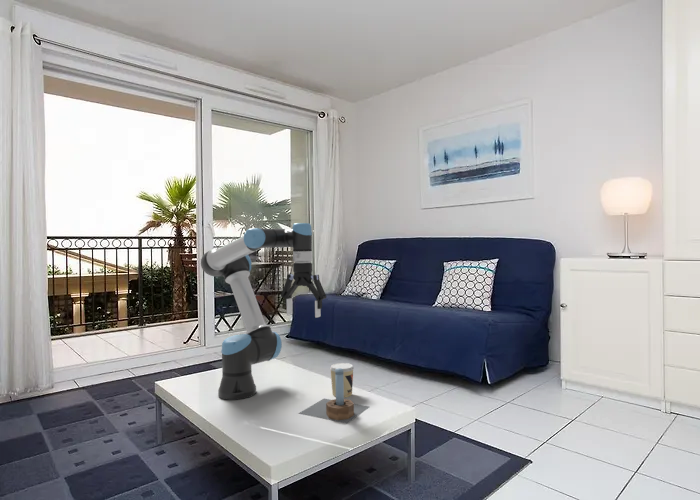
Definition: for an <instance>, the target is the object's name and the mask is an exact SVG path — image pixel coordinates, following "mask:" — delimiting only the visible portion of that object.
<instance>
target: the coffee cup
mask: <svg viewBox="0 0 700 500" xmlns="http://www.w3.org/2000/svg"><path fill="white" fill-rule="evenodd" d="M338 368H342V369H343V373H344V374H343V381H344V398H349V397H351V396H352V395H353V384H354V383H353V381H354V366H353V364H351V363H349V362H339V363H334V364H331V365H330V368H329V369H330V379H331V391H332V396H333V397H335V398H336V378H335V369H338Z"/></svg>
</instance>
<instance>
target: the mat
mask: <svg viewBox="0 0 700 500" xmlns="http://www.w3.org/2000/svg"><path fill="white" fill-rule="evenodd" d="M331 400H332V399H329V398H322V399H320V400H319V401H317V402H315V403H314V404H312V405H310V406H309V407H307V408H304V409H302V411H300V412H298V414H300V415H303V416H308V417H313V418H319V419H322V420H323V419H324V420H329V421H333V422H337V423H338V422H339V423H344V424H349V423H351V422H352V421H353V420H355V418H357V417H358V416H360V415H361V414H362V413H364V412H365V411H366V410H368V409H370V406H367V405H361V404H358V403H354V415H353V416H352V417H351V418H349V419H344V420H335V419H330V418H328V416H327V414H326V403H327V402H329V401H331Z"/></svg>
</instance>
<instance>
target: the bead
mask: <svg viewBox="0 0 700 500" xmlns="http://www.w3.org/2000/svg"><path fill="white" fill-rule="evenodd" d="M330 400H331V401H329V402H327V403H326V414H327V416H328V418H330V419H335V420H344V419H349V418H351V417H352V416H353V415H354V404H355V403H354V402H353V401H352V400H351V399H345V398H344V405H342V406H337V405H336V398H335V399H330Z"/></svg>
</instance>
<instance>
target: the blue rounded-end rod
mask: <svg viewBox="0 0 700 500" xmlns="http://www.w3.org/2000/svg"><path fill="white" fill-rule="evenodd" d="M343 374H344V373H343V369H342V368H338V369H335V378H336V397H335V399H336V405H337V406H342V405H344V399H345V397H344V381H343Z"/></svg>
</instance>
